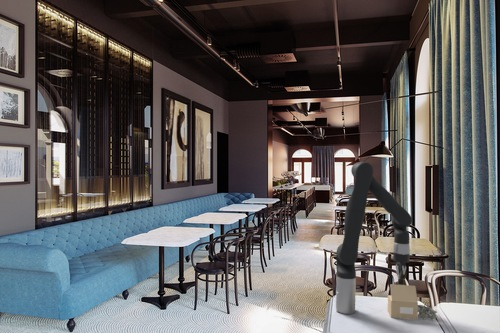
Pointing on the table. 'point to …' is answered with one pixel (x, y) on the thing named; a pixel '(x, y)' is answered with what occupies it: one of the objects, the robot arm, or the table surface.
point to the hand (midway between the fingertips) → (400, 286)
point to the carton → (402, 309)
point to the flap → (403, 293)
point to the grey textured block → (424, 310)
